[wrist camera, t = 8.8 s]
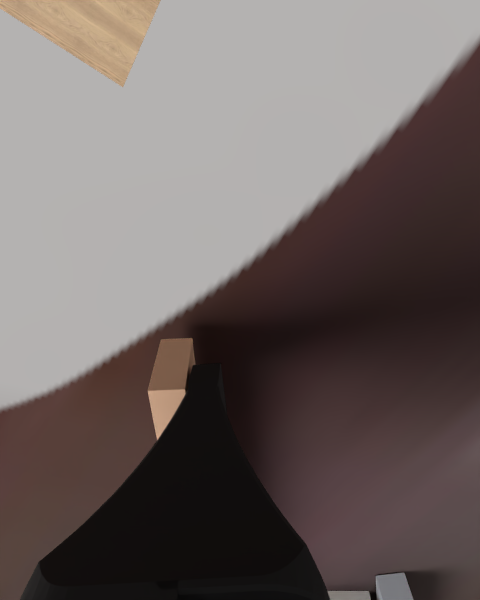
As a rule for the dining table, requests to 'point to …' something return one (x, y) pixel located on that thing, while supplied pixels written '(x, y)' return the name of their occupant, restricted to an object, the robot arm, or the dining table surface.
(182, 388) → the tan flat bar
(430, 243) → the dining table surface
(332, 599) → the white block
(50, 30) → the ruin model on sheet
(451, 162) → the dining table surface
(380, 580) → the dock
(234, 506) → the robot arm
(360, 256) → the dining table surface
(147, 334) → the dining table surface
